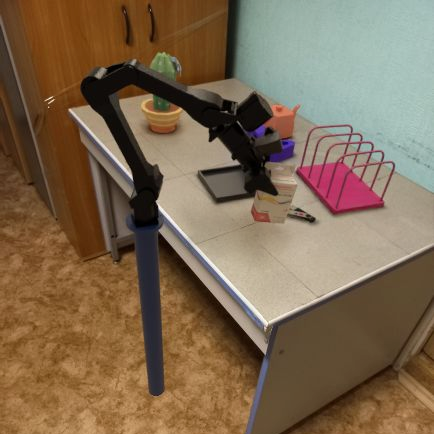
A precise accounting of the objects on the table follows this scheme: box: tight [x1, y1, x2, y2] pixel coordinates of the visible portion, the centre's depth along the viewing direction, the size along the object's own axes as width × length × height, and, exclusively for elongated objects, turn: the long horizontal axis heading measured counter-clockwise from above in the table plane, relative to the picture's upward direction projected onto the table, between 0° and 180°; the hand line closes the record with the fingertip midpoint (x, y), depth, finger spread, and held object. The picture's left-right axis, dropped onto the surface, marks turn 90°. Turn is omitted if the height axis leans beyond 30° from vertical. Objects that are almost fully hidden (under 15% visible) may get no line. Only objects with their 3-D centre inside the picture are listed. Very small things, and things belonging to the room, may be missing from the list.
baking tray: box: [197, 163, 257, 204], centre depth 131 cm, size 19×16×2 cm
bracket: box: [245, 125, 296, 163], centre depth 141 cm, size 18×11×12 cm, turn 115°
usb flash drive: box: [287, 204, 317, 224], centre depth 121 cm, size 9×5×1 cm, turn 43°
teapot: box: [263, 104, 302, 140], centre depth 155 cm, size 12×18×10 cm, turn 118°
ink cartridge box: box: [250, 162, 298, 225], centre depth 108 cm, size 9×5×15 cm, turn 99°
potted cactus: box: [140, 51, 184, 134], centre depth 147 cm, size 15×15×25 cm
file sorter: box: [295, 123, 396, 215], centre depth 128 cm, size 17×25×16 cm
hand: (276, 188), depth 107 cm, fingers closed on ink cartridge box, 5 cm apart
